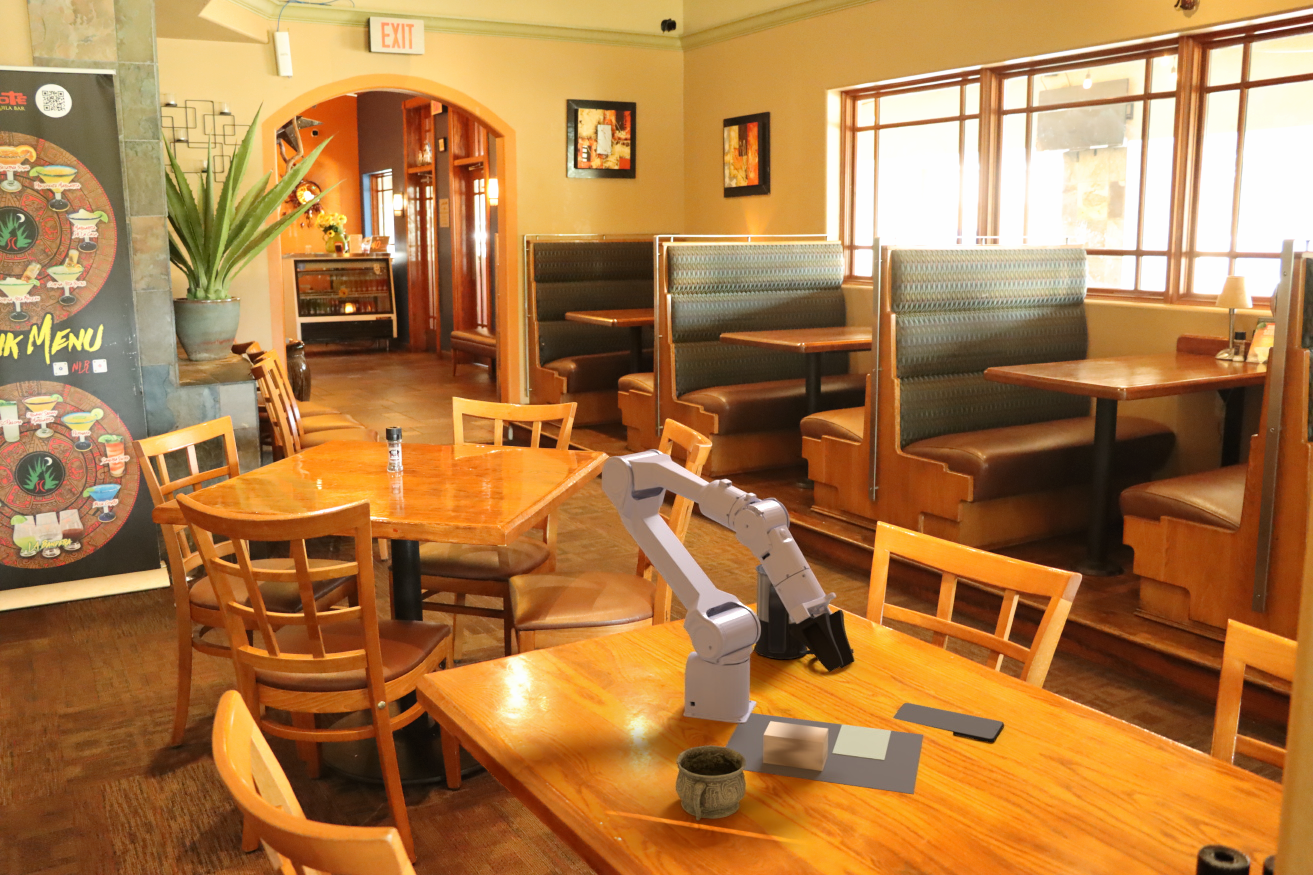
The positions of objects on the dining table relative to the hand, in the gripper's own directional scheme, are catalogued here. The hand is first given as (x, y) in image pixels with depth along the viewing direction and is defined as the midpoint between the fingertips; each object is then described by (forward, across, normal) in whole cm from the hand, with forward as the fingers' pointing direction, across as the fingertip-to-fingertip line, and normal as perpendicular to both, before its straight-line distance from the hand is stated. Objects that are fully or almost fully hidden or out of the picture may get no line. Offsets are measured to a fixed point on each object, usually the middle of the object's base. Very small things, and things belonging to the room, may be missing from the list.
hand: (842, 666), depth 148 cm
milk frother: (-6, +37, +13) cm, 40 cm away
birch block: (+8, -1, +12) cm, 14 cm away
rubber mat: (+8, +4, +9) cm, 13 cm away
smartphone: (+14, +19, -5) cm, 24 cm away
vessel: (+8, -15, +20) cm, 27 cm away
